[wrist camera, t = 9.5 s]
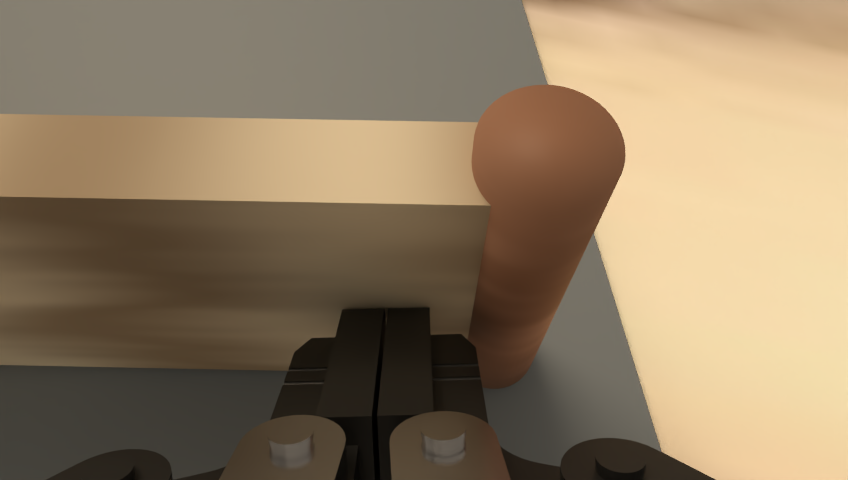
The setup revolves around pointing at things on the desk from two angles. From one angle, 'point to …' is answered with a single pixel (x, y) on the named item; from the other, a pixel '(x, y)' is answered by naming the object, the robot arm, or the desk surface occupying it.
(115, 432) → the board
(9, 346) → the fence swing section
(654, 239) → the desk surface
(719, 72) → the desk surface
